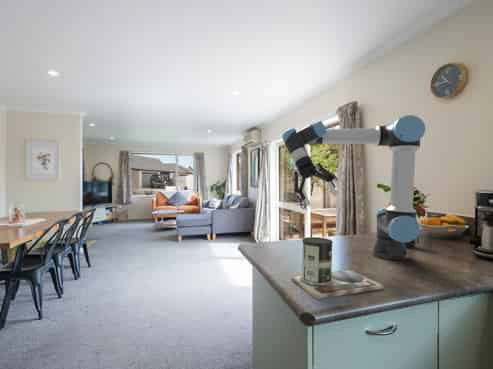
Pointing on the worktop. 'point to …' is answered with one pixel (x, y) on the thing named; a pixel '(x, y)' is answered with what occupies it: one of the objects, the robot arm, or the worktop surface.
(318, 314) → the worktop surface
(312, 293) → the board
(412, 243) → the french press
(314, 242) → the coffee can
